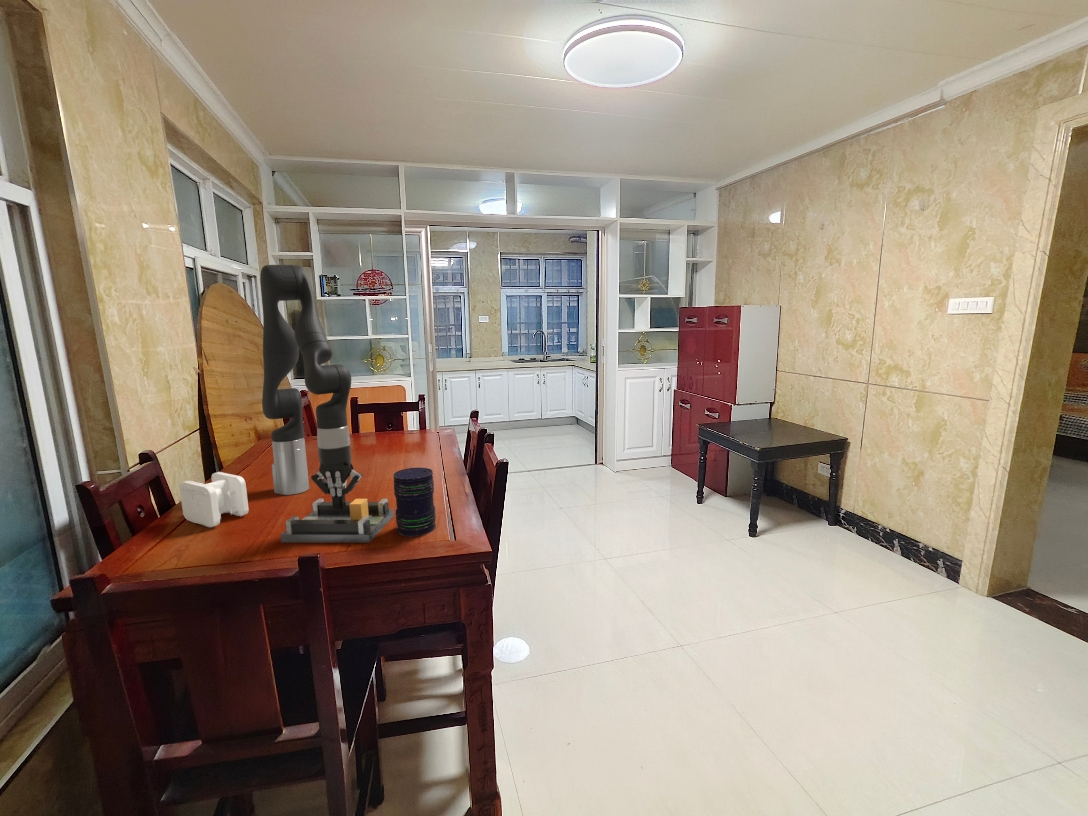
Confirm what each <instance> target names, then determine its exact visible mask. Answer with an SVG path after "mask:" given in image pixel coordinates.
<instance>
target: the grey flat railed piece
mask: <svg viewBox="0 0 1088 816" xmlns="http://www.w3.org/2000/svg"><path fill="white" fill-rule="evenodd" d="M351 502H352V501H346V505H345V506H344V508H343V509H342V510H335V508H334V507H333V504H332V501H325V500H324V498H318V499H316V500H315V501H313V502H312V505H311V507H312V511H311V512H310V513H308V514H307V515H306V516H304V517H303V518H300V519H299V515H293V516H292V517H290V518H288V519H287V520H286V521H285V531H283V532H282V533H281V534H280V543H324V544H325V543H329V544H330V543H335V544H336V543H341V544H342V543H345V544H346V543H349V544H352V543H357V544H359V543H360V544H363V543H365V544H367V543H371V542H372V540H373V539H374V538H375V537H376V536H378V534H379V533H380V532H381V531H382V530H383V529H384V527H385V526H387V524H388V523H390V521H391V520H392V519H393V518H394V517H395V511H394V508H389V507H390V505H389V500H388V498H382V499H381V500H380V501H368V513H369V515H372V517H371V518H370V519H369V516H363V517H362V518H361V519H360V520H350V519H351V518H350V506H349V504H350V503H351Z"/></svg>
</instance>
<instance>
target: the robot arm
mask: <svg viewBox="0 0 1088 816" xmlns="http://www.w3.org/2000/svg"><path fill="white" fill-rule="evenodd" d="M259 276H260V279H259V281H260V292H261V304H262V305H261V306H262V317H263V318H262V319H263V320H262V321H263V322H262V323H263V324H262V325H263V327H262V328H263V329H262V330H263V332H262V333H263V334H262V358H263V359H262V360H263V361H262V363H263V387H262V395H261V396H262V397H261V398H262V399H261V404H262V405H261V406H262V407H261V409H262V413H263V416H264V417H265V418H266V419H268V420H281V419H289V421H287V422H286V423H285V424H284V425H282V426H280V427H278V428H276V429H274V430H272V431H271V433H270V437H271V445H272V454H273V463H272V464H271V472H272V474H271V475H272V482H273V489H274V494H277V495H282V496H283V495H284V496H290V495H297V494H300V493H301V494H302V493H304V492H306V491H308V490H310V482H309V473H308V470H309V469H308V461H307V460H308V459H307V454H306V452H307V451H306V441H305V433H304V421H303V418H304V417H303V400H302V399H303V398H302V394H301V392H300V390H299V389H298V388H295V387H294V388H291V387H289V388H279V387H280V385H281V383H282V381H283V380H284V379H285V378H286V377H287V376H288V375H289V374H290V372H291V371H292V370H293V369H294V368H295V366H296V365H297V363H298V362H299V358H300V354H301V357H302V361H303V369H304V385H305V388H306V389H307V390H308V392H310V393H312V395H317V396H319V395H327V394H329V395H330V394H332V396H331V397H330V399H329V400H328V401H326V402H323V403H320V404H318V405H317V406H316V408H315V418H316V419H315V420H316V428H317V429H316V430H317V431H316V441H317V450H318V459H319V461H318V462H319V467H318V471H317V472H315V473H314V474H313V475H311V476H310V478H311V480H312V482H314V484H315V485H317V487H318V488H319V489H320V490H321V492H323V494H324V495H330V496H331V502H332V504H333V507H334V508H335V510H342V509H343V508H344V506H345V505H346V502H347V501H346V495H347V494H349V493H350V492H352V491H353V489H354V488H355V487H356V485H357V484H358V483H359V481H360V479H361V478H362V477H363V473H362V472H357V471H356V470H355V468H354V466H353V464H352V455H351V454H352V453H351V450H352V449H351V438H350V431H349V427H348V416H347V407H348V406H347V405H348V400H349V395H350V392H351V391H350V390H351V386H352V375H351V372H350V370H349V368H348V367H347V366H346V365H344V364H327V365H323V364H326V363H327V362H329V361H330V360H331V358H332V357H333V350H332V347H331V345H330V343H329V340H328V337H327V335H326V334H325V333H326V332H325V331H324V328H323V326H322V322H321V319H320V315H319V311H318V308H317V307H318V306H317V303H316V299H315V295H314V292H313V287H312V284H311V281H310V278H309V275H308V273H307V271H306V270H305V268H304V267H303V266H301V265H299V264H298V265H297V264H265V265H264V266H262V267H261V270H260V275H259ZM286 301H288V302H289V301H299V302H300V304H301V310H300V313H299V316H298V318H297V322H296V324H295V327H294V329H293V328H292V326H291V325H290V324H289V322H287V320H286V319H285V317H284V316H283V315H282V313H281V312H280V310H279V302H286ZM349 477H350V481H349V483H348V479H349ZM347 483H348V484H347Z"/></svg>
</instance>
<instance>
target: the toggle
mask: <svg viewBox="0 0 1088 816" xmlns="http://www.w3.org/2000/svg"><path fill="white" fill-rule="evenodd" d="M350 502H351V503H350V504H349V506H350V518H351V519H350V520H360V519H361V518H362V517H363V516H369V519H370V518H371V517H372V515H369V513H368V502H369V501H368V498H355V499H354V500H353V501H350Z"/></svg>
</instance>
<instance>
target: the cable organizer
mask: <svg viewBox="0 0 1088 816" xmlns="http://www.w3.org/2000/svg"><path fill="white" fill-rule="evenodd" d="M210 479H211V482H209V483H202V482H201V483H200V482H197V481H192V480H185V481H182V482H180V483H179V485H178V487H179V494H180V501H181V507H182V508H181V509H182V514H183V516H184V518H185V519H186V521H189V522H191V523H195V524H199V525H201V526H204V527H207V528H214V527H215V526H218V525H220V523H221V519H222V516H221V515H222V514H230V516H232V515H234V516H237V517H239V516H240V518H241V517H243V516H244V515H247V514H248V513H249V502H248V493H247V492H248V491H247V485H246V480H245V479H244V477H242V476H240V475H238V474H237V475H236V474H230V473H226V472H222V471H217V472H214V473H212V474H211V478H210Z"/></svg>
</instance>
